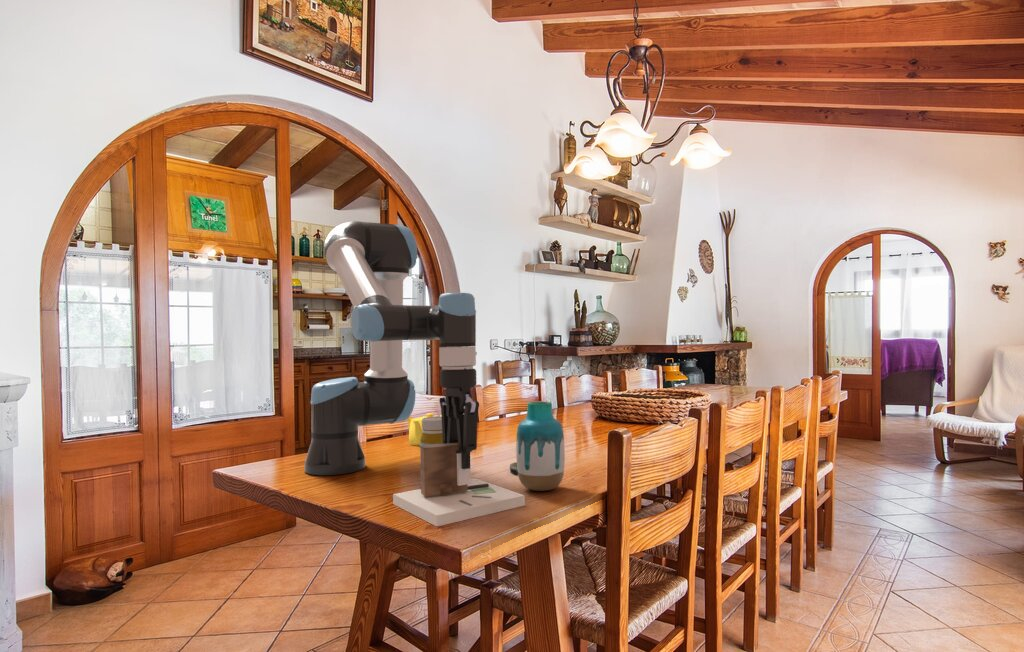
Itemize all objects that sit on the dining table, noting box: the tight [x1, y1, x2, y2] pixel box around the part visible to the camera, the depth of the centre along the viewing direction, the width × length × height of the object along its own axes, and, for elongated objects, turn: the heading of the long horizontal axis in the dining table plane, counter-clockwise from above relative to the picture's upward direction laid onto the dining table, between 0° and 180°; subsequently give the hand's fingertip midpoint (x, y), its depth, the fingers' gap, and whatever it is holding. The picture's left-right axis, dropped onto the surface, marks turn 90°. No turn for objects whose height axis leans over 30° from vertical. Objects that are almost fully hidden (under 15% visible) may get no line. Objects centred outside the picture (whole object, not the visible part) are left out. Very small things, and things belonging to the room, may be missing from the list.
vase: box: [515, 400, 566, 492], centre depth 126 cm, size 11×11×19 cm
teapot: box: [406, 412, 441, 447], centre depth 183 cm, size 15×14×10 cm
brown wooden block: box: [420, 442, 489, 496], centre depth 117 cm, size 14×4×10 cm, turn 114°
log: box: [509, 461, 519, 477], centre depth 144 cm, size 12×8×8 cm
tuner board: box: [392, 478, 526, 527], centre depth 116 cm, size 18×20×2 cm
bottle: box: [419, 416, 443, 457], centre depth 133 cm, size 7×7×15 cm
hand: (459, 482), depth 118 cm, fingers closed on brown wooden block, 3 cm apart
